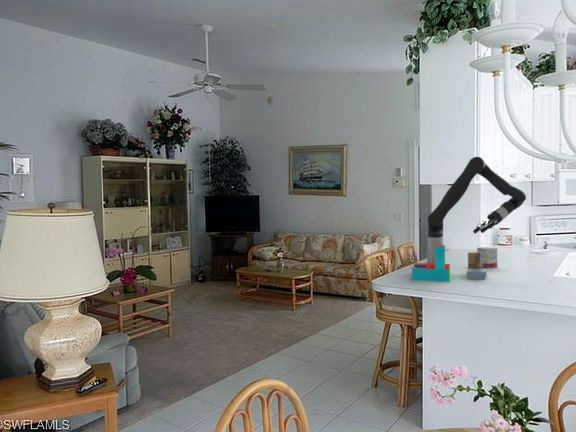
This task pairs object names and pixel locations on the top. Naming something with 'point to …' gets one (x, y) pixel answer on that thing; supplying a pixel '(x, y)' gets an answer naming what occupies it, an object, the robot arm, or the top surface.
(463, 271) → the top surface
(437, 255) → the building blocks toy
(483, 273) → the plinth
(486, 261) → the ink box
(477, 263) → the pillar
